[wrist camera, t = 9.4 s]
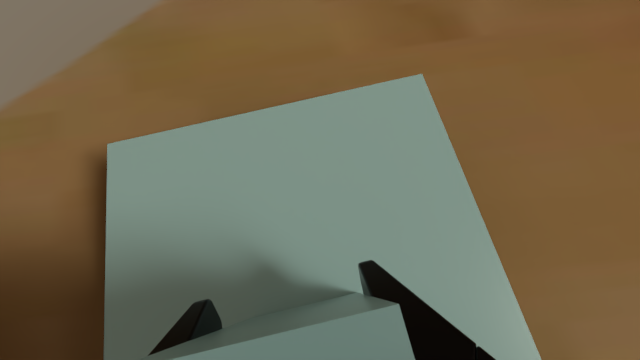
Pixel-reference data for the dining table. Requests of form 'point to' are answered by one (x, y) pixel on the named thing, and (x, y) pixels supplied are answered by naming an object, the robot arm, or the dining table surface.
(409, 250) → the lid
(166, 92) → the dining table surface
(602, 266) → the dining table surface
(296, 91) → the dining table surface
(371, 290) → the robot arm
